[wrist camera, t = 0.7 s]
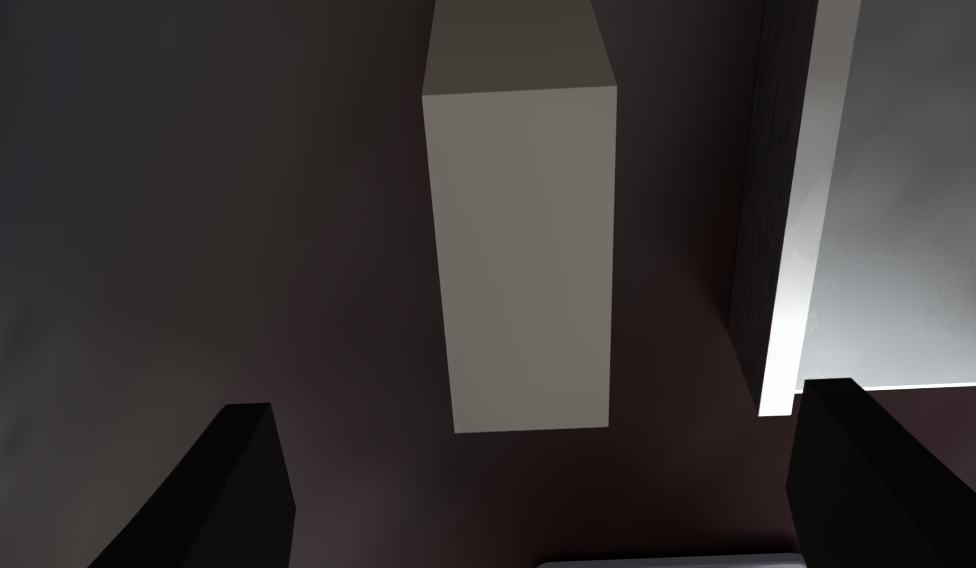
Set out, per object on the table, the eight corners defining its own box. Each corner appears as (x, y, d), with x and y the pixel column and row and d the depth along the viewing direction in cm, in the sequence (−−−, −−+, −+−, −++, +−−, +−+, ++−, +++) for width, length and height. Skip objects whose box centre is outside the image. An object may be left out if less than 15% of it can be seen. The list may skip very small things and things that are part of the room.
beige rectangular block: (585, 284, 22) (608, 427, 18) (460, 289, 22) (454, 433, 18) (587, -9, 18) (617, 86, 14) (436, -2, 18) (421, 95, 14)
